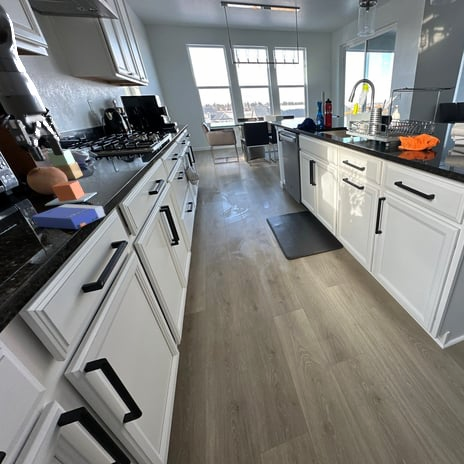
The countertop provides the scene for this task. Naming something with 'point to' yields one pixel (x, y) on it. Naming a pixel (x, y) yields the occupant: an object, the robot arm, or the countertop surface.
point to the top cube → (68, 190)
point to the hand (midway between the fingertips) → (50, 158)
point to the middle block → (61, 158)
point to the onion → (45, 179)
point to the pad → (81, 199)
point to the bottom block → (70, 170)
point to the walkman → (69, 216)
